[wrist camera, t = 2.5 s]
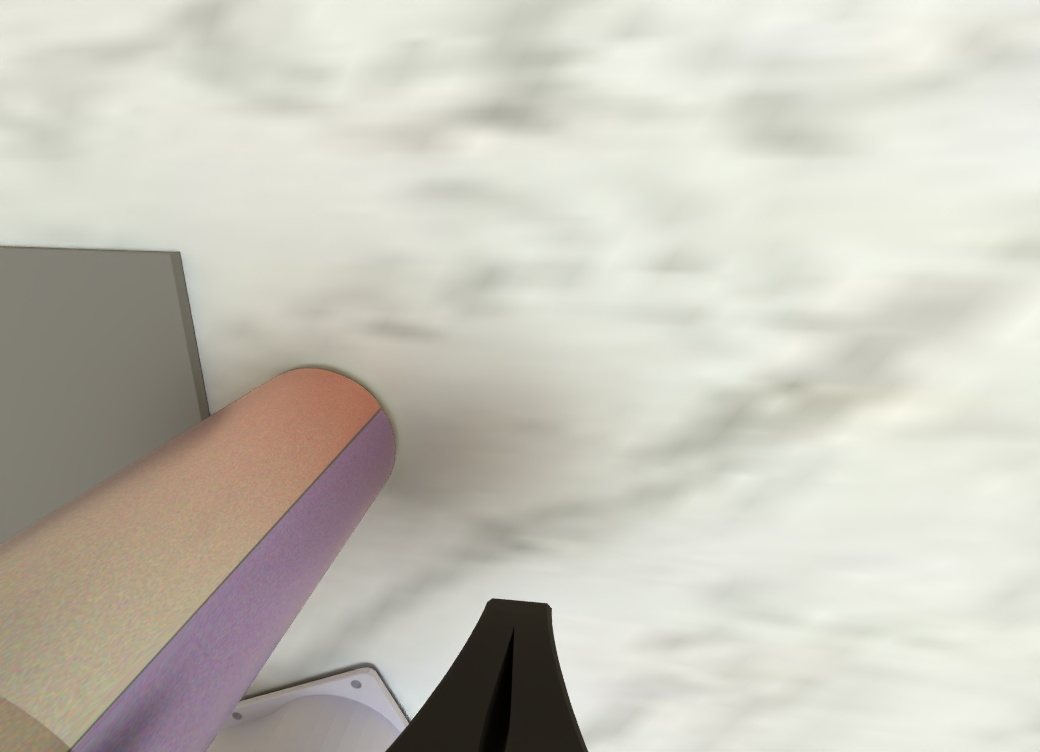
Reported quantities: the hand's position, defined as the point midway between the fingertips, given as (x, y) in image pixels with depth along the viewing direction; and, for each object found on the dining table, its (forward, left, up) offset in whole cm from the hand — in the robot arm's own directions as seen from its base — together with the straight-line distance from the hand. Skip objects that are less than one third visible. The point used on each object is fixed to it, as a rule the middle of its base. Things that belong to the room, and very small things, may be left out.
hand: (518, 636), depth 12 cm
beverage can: (-8, +4, -10) cm, 13 cm away
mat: (-21, +10, -9) cm, 25 cm away
